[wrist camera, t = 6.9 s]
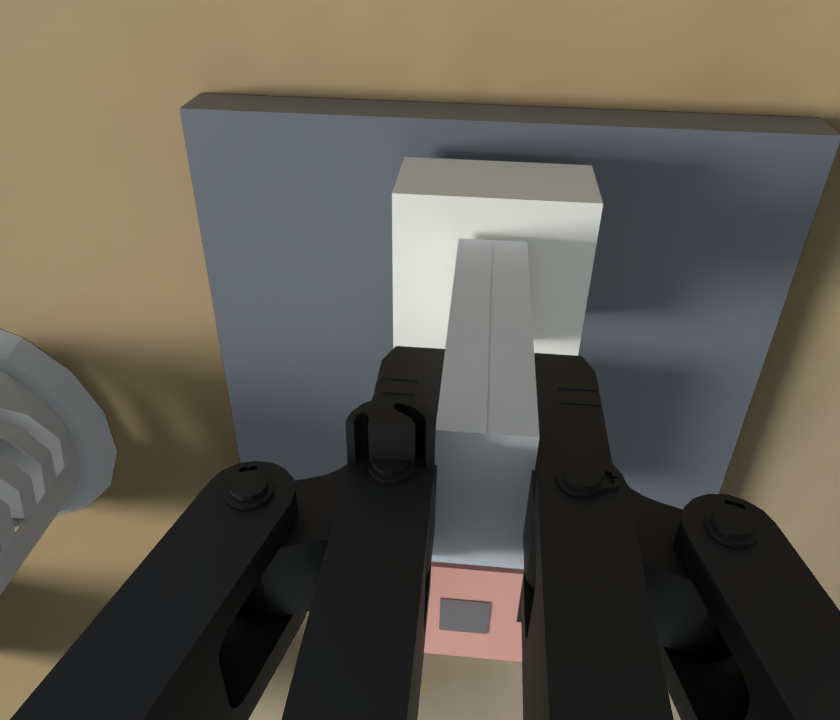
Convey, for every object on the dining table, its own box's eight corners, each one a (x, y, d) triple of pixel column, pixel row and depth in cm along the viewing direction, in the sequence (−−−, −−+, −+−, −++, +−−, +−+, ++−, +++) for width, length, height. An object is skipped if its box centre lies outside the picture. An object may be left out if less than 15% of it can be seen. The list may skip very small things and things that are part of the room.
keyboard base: (818, 117, 18) (841, 135, 17) (669, 583, 28) (677, 615, 27) (200, 93, 19) (179, 108, 18) (270, 549, 29) (259, 578, 28)
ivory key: (585, 144, 18) (603, 204, 15) (563, 297, 21) (574, 378, 18) (411, 136, 19) (391, 194, 15) (410, 288, 21) (393, 365, 18)
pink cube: (536, 483, 25) (541, 577, 22) (524, 568, 28) (527, 664, 24) (409, 474, 26) (395, 564, 22) (408, 558, 28) (395, 651, 25)
